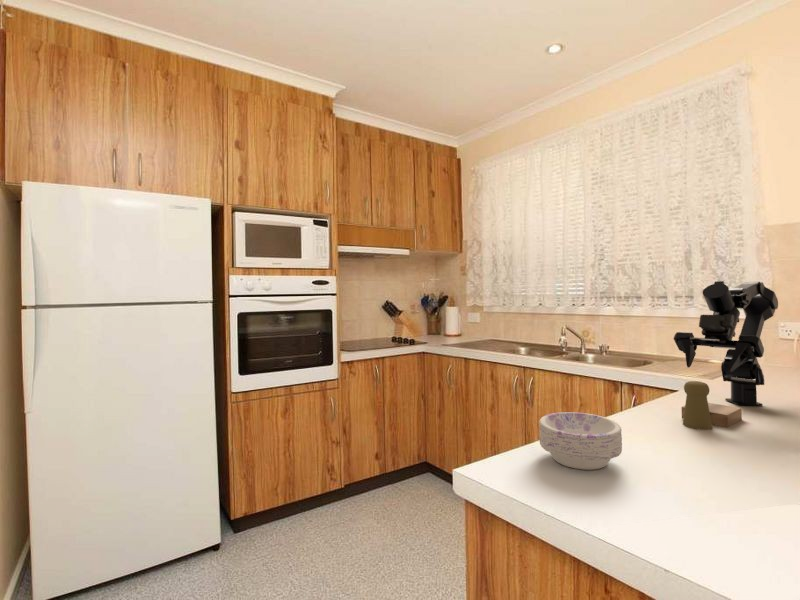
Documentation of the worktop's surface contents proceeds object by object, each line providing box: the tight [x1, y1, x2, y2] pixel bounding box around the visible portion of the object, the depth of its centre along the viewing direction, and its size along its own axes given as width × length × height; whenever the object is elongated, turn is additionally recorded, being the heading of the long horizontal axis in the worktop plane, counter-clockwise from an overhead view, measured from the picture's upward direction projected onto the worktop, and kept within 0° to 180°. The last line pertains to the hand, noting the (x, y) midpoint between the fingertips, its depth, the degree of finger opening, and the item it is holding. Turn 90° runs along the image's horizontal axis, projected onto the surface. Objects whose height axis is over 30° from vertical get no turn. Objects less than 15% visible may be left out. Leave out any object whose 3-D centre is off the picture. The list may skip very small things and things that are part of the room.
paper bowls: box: [538, 411, 623, 471], centre depth 84 cm, size 15×15×8 cm
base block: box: [681, 402, 743, 428], centre depth 109 cm, size 10×10×3 cm
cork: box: [682, 380, 713, 431], centre depth 104 cm, size 6×6×11 cm
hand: (708, 368), depth 108 cm, fingers open, 9 cm apart
